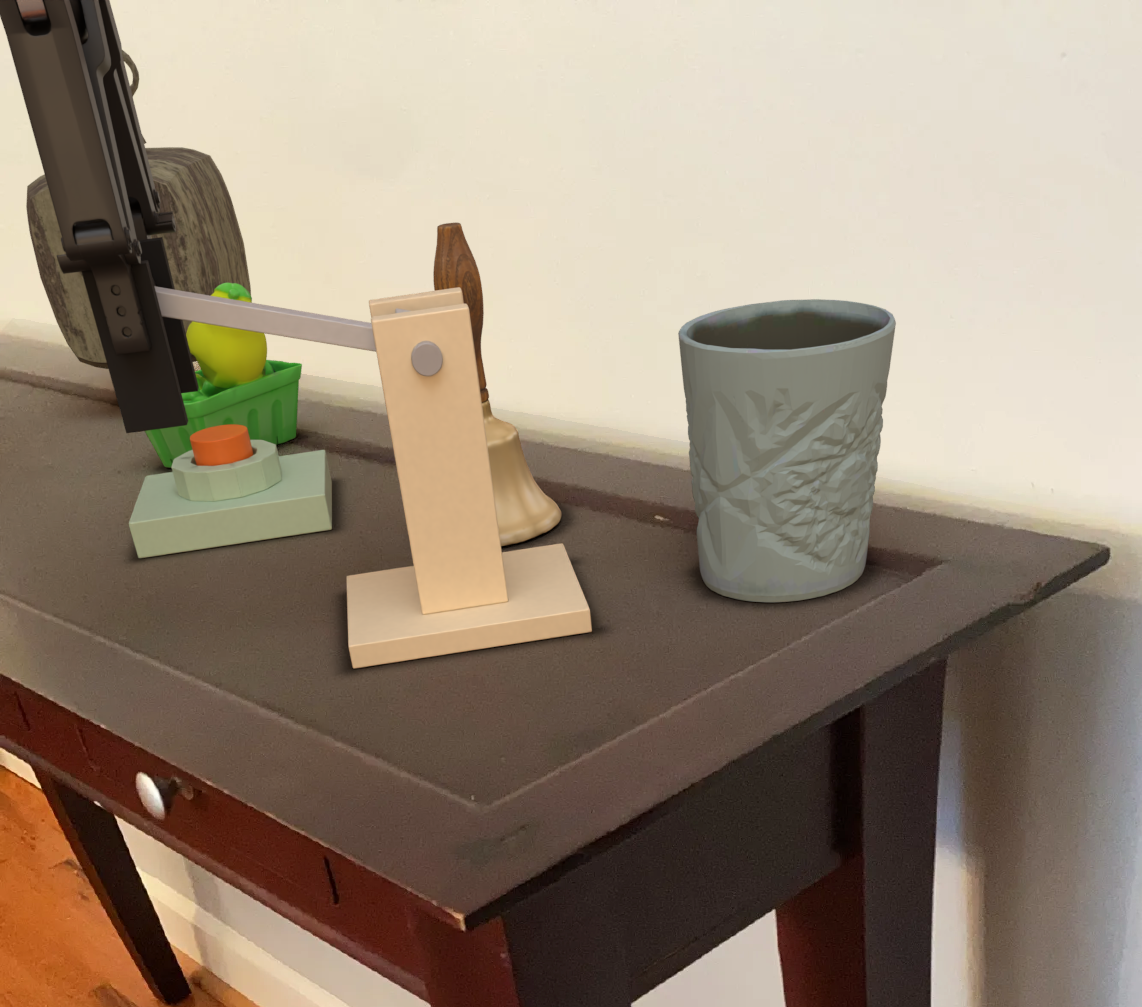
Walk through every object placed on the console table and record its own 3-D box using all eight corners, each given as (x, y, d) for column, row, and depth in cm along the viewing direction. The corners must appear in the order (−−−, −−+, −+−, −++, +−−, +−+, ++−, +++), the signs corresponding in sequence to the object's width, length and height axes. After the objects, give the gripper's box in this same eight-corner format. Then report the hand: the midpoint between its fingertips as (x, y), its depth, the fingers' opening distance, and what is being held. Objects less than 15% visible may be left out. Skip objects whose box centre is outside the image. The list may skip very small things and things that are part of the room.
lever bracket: (352, 669, 68) (284, 345, 59) (350, 596, 76) (289, 301, 67) (592, 632, 69) (560, 305, 60) (565, 564, 77) (533, 266, 68)
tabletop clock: (274, 382, 118) (195, 25, 103) (244, 412, 111) (155, 34, 96) (115, 397, 121) (14, 48, 105) (75, 427, 113) (-38, 58, 98)
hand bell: (401, 548, 82) (346, 243, 72) (460, 501, 88) (417, 213, 78) (529, 552, 79) (491, 236, 69) (582, 503, 85) (553, 205, 75)
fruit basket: (249, 426, 108) (211, 264, 101) (333, 434, 103) (299, 266, 96) (139, 472, 101) (90, 301, 94) (224, 483, 96) (179, 304, 89)
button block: (138, 559, 85) (118, 493, 83) (154, 509, 93) (137, 447, 91) (332, 530, 86) (318, 463, 83) (332, 482, 94) (319, 420, 91)
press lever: (109, 336, 60) (108, 275, 59) (124, 311, 65) (123, 254, 63) (454, 391, 64) (461, 335, 62) (446, 364, 68) (452, 311, 66)
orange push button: (194, 474, 86) (187, 444, 85) (199, 457, 89) (191, 429, 88) (252, 465, 86) (245, 436, 85) (255, 449, 89) (248, 421, 88)
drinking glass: (687, 546, 77) (675, 309, 70) (872, 529, 76) (879, 288, 69) (694, 616, 69) (681, 358, 62) (899, 599, 68) (911, 334, 61)
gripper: (53, -311, 43) (232, 453, 58) (123, -242, 58) (253, 354, 72) (-190, -284, 43) (51, 478, 57) (-57, -221, 58) (109, 373, 72)
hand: (163, 408), depth 65 cm, fingers closed on press lever, 5 cm apart
